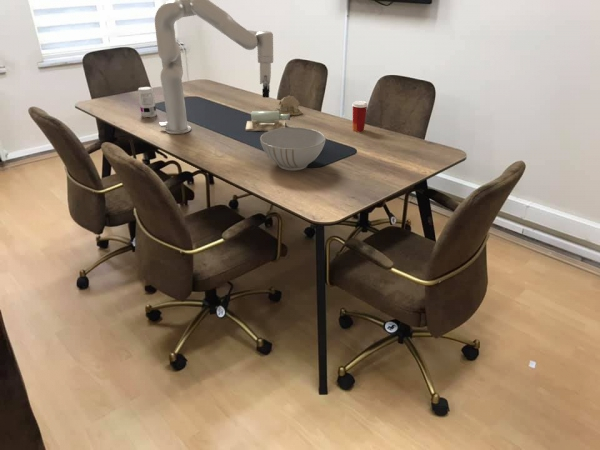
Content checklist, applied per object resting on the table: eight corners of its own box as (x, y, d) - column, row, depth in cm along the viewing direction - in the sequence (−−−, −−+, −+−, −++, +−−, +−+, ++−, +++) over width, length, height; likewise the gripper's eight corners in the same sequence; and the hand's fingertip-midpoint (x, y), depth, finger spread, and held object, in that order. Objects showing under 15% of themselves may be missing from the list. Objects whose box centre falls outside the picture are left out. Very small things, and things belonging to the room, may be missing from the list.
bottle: (251, 124, 236) (251, 113, 234) (252, 121, 242) (251, 109, 239) (290, 124, 237) (289, 112, 234) (289, 121, 242) (289, 109, 239)
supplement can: (138, 117, 255) (133, 89, 247) (148, 113, 261) (143, 85, 254) (150, 118, 252) (146, 90, 244) (160, 114, 259) (156, 87, 251)
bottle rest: (245, 130, 234) (245, 122, 232) (247, 122, 246) (246, 114, 243) (285, 130, 235) (285, 121, 233) (285, 122, 246) (285, 114, 244)
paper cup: (367, 129, 237) (369, 101, 230) (363, 133, 231) (365, 105, 224) (353, 127, 240) (355, 99, 233) (348, 131, 234) (349, 103, 227)
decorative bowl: (274, 182, 180) (273, 152, 174) (252, 158, 202) (251, 131, 196) (335, 171, 190) (337, 143, 184) (308, 150, 211) (309, 124, 205)
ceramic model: (295, 109, 269) (295, 92, 264) (304, 114, 260) (304, 96, 255) (273, 112, 263) (272, 94, 258) (281, 117, 255) (281, 99, 250)
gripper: (258, 55, 231) (259, 90, 240) (256, 62, 216) (257, 99, 224) (273, 56, 231) (273, 90, 240) (272, 62, 216) (273, 99, 225)
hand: (266, 94), depth 232 cm, fingers open, 9 cm apart
